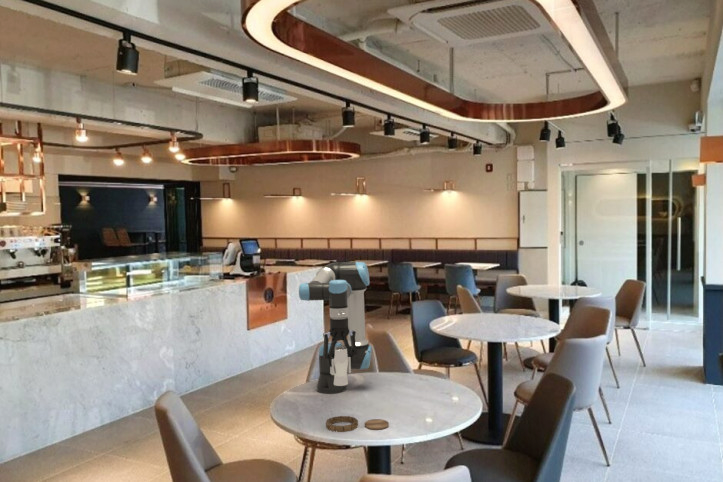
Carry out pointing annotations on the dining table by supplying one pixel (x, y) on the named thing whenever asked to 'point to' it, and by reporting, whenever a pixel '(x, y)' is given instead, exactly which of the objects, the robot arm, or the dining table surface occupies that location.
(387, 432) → the dining table surface
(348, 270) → the robot arm
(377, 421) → the walnut coaster
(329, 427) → the ring
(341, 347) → the beer glass
